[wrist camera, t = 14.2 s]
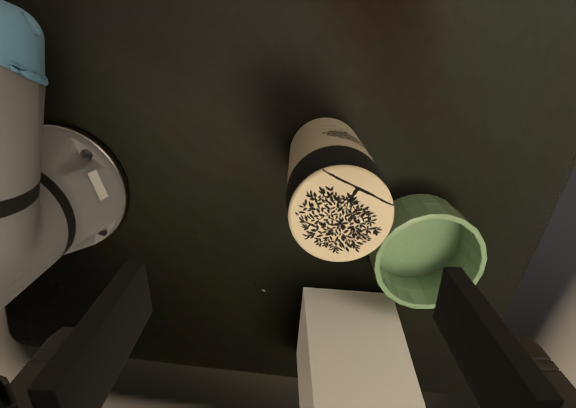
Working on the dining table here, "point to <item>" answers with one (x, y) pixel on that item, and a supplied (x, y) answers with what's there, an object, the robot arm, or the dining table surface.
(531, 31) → the dining table surface
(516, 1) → the dining table surface
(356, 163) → the travel mug
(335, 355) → the milk
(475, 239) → the pot
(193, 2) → the dining table surface
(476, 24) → the dining table surface
